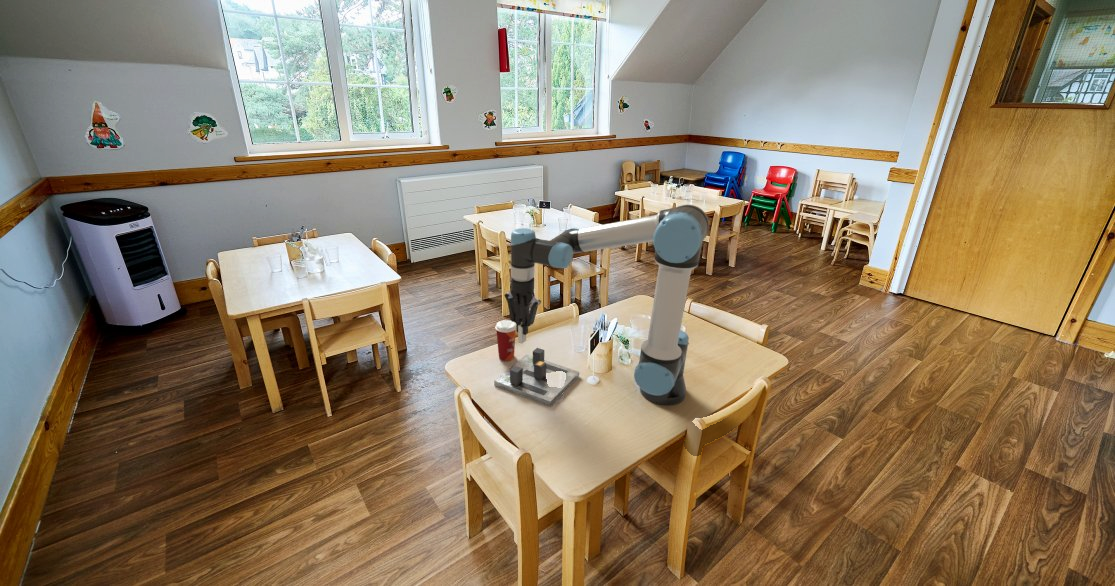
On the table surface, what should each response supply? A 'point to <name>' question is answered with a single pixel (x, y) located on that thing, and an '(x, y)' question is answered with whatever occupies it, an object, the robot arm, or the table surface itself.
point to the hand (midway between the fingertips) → (522, 341)
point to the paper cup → (506, 339)
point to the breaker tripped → (540, 370)
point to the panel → (536, 382)
